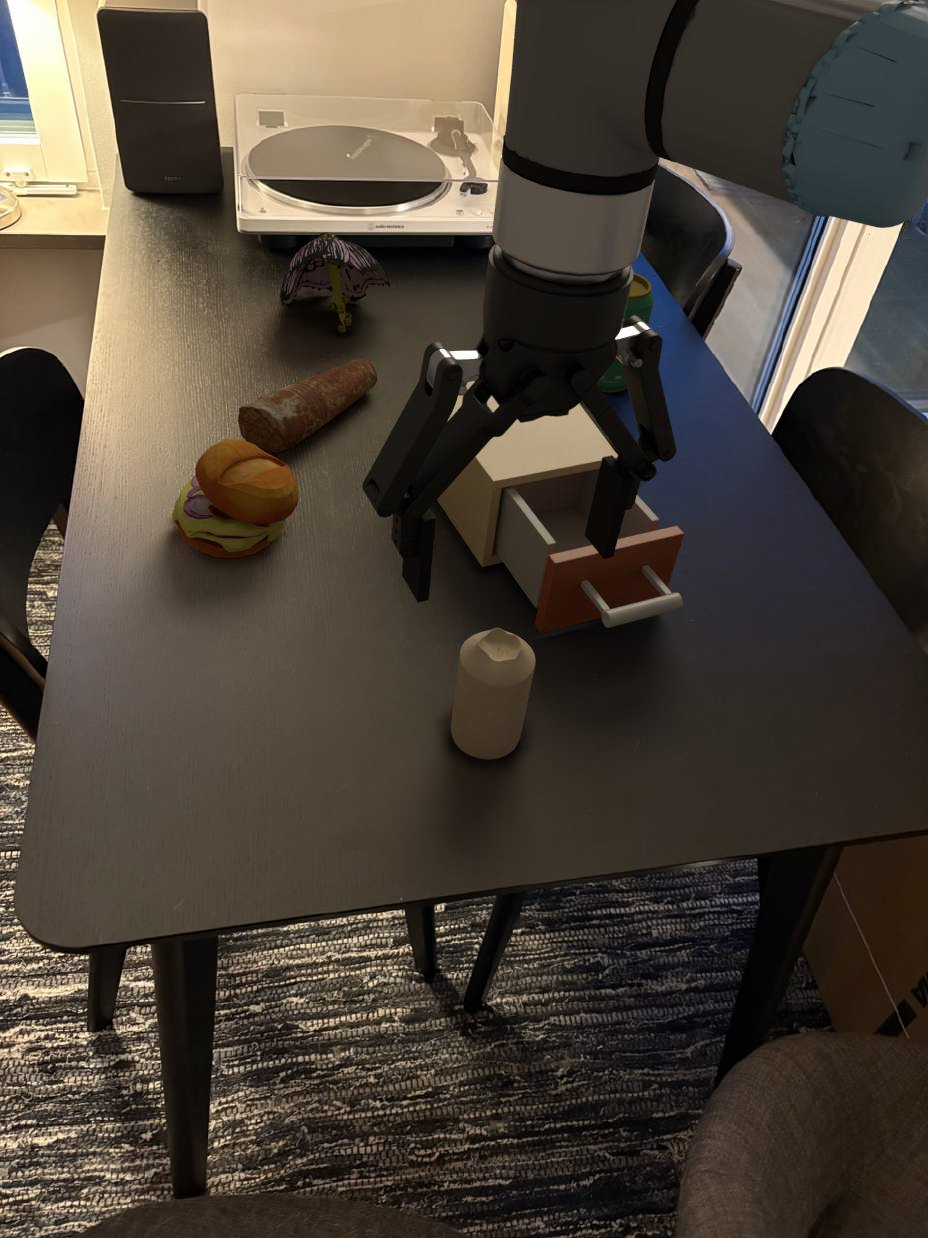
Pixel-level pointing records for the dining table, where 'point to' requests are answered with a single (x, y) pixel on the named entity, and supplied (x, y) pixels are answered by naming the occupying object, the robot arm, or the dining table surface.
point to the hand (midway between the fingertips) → (510, 566)
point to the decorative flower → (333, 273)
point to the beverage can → (636, 306)
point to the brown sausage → (304, 406)
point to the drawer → (583, 555)
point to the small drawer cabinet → (518, 470)
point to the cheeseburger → (235, 500)
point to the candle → (491, 693)
